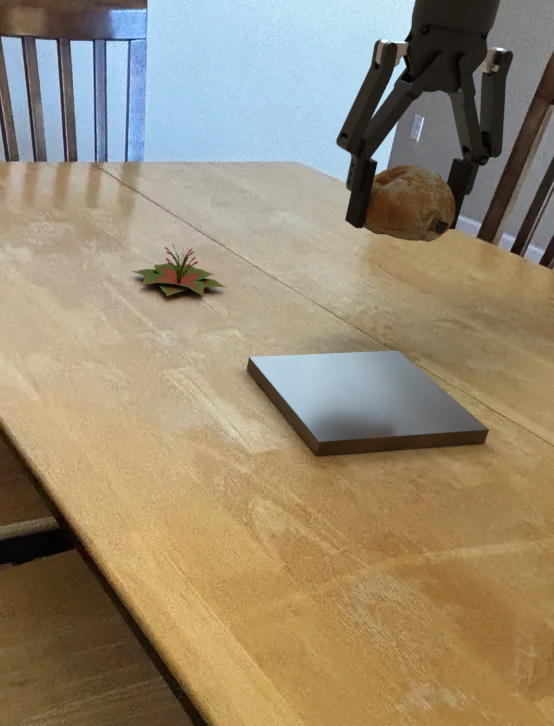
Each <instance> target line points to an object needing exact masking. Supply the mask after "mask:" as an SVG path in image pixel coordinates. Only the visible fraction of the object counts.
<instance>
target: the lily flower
mask: <svg viewBox="0 0 554 726" xmlns="http://www.w3.org/2000/svg"><path fill="white" fill-rule="evenodd" d="M172 247H173V249H174V251H175V255H176V256H175V255H174V254H173V253H172V251H171V250H170V249H169V248H168V247H167V246H164V249H165V250H166V254H168V255H170V256H171V257H172V259H173V261H174V262H175V264H174V263H173V262H172V261H171V260H170V259H169V258H167V257H165V260H166V261H167V263H161V264H154V265H153V267H154V269H153V268H152V269H151V268H144V269H139V270H131V272H132V273H135V274H138V275H139V276H143V277H144V279H143V282H142V283H140V286H144V285H145V286H146V285H151V284H156V283H157V284H159V287H160V289H161V290H162V291H163V292H164V293H165V294H166V297H169V296H172V295H175V294H177V293H180V292H184V291H187V290H188V288H189V289H190V290H192V291H193V292H195V293H197V294H199V295H200V296H202V297H204V296H205V295H204V294H205V293H204V292H205V290H204V289H205V288H226V286H225V285H223V284H221V283H219V281H217V280H215V279H211V278H208V277H211V276H216V274H215V273H212V272H209V271H206V270H204V269H201V268H196V267H195V265H197V264H198V263H199V261H198V260H196V261H194V260H195V259H196V256H194V257H192V258H191V260H190V261H189V262H188V260H189V257H190V256H192V255H193V254H194V253H195V251H194V250H193V248H190V249H189V250H188V252H187V253H186V254H185V255H184V252H182V255H181V256H182V258H181V260H180V256H179V254H178V253H177V250H176V247H175V245H174V244H172ZM182 251H185V248H183V249H182ZM193 261H194V262H193ZM187 262H188V263H187ZM192 262H193V263H192ZM191 263H192V264H191Z"/></svg>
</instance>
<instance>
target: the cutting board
mask: <svg viewBox="0 0 554 726" xmlns="http://www.w3.org/2000/svg"><path fill="white" fill-rule="evenodd" d="M247 360H248V361H247V365H246V370H247V372H248V373H249V374H250V375H251V377H252V378H253V380H255V381H256V383H257V384H258V385H259V387H260V388H261V389H262V390H263V391H264V393H265V394H266V395H267V397H268V398H269V399H270V400H271V401H272V403H273V405H275V407H276V408H277V409H278V411H279V412H281V414H282V415H283V416H284V417H285V419H286V420H287V421H288V423H289V424H290V425H291V426H292V428H293V429H294V430H295V431H296V432H297V434H298V435H299V436H300V438H301V439H302V441H304V442H305V444H306V445H307V446H308V447H309V449H310V450H311V451H312V453H313V454H314V455H315V456H317V457H319V456H320V457H321V456H334V455H344V454H359V453H372V452H373V453H374V452H384V451H385V452H386V451H396V450H399V451H400V450H409V449H422V448H435V447H437V448H438V447H449V446H462V445H475V444H476V445H477V444H485V443H486V440H487V437H488V436H489V435H488V434H489V433H490V429H489V428H488V427H487V426H486V425H485V424H484V423H482V421H480V420H479V419H478V418H477V417H475V416H474V415H473V414H472V413H471V412H470V411H468V409H466V408H465V407H464V406H463V405H462V404H461V403H459V402H458V401H457V400H456V399H455V398H453V396H452V395H450V394H449V393H448V392H447V391H446V390H444V389H443V388H442V387H441V386H440V385H439V384H438V383H436V382H435V381H434V380H433V379H432V378H431V377H430V376H428V375H427V374H426V373H425V372H424V371H423V370H421V368H419V367H418V366H417V365H416V364H415V363H414V362H413V361H411V360H410V359H409V358H408V357H407V356H406V355H404V354H403V353H402V352H401V351H399V350H397V349H396V350H377V351H376V350H375V351H373V350H372V351H353V352H350V351H349V352H330V353H329V352H327V353H308V354H285V355H284V354H283V355H282V354H281V355H263V356H261V355H260V356H259V355H258V356H248V359H247Z"/></svg>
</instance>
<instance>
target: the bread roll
mask: <svg viewBox="0 0 554 726" xmlns="http://www.w3.org/2000/svg"><path fill="white" fill-rule="evenodd" d="M454 217H455V200H454V197H453V194H452V191H451V189H450V187H449V186H448V184H447V181H445V180H443V178H442V175H441V174H440V173H439V172H437V171H430V169H427V168H425V167H423V166H419V165H415V164H401V165H396V166H393V167H390V168H387V169H384V170H382V171H380V172H379V173H377V174H376V173H375V176H374V181H373V185H372V189H371V194H370V198H369V202H368V207H367V211H366V215H365V220H364V224H363V228H364V229H366V230H367V231H369V232H371V233H373V234H375V235H384V236H389V237H392V238H394V239H399V240H404V241H409V242H410V241H412V242H419V241H422V242H426V243H429V242H432V241H436V240H437V239H439V238H441V237H442V236H443V235H444V234H445V233H447V232H448V231H449V230H451V229H450V227H451V225H452V222H453V220H454Z"/></svg>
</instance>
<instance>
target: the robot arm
mask: <svg viewBox="0 0 554 726" xmlns="http://www.w3.org/2000/svg"><path fill="white" fill-rule="evenodd" d="M500 3H501V0H414V5H413V9H412V13H411V24H410V25H411V26H410V30H409V32H408V34H407V36H406V37H405V39H404V40H403V41H391V40H388V39H384V38H378V39H377V40H376V41H375V43H374V45H373V50H372V57H371V63H370V66H369V69H368V71H367V72H366V75H365V77H364V80H363V82H362V84H361V86H360V88H359V90H358V92H357V95H356V96H355V99H354V101H353V103H352V105H351V107H350V109H349V111H348V113H347V116H346V118H345V120H344V121H343V124H342V127H341V129H340V131H339V133H338V135H337V137H336V139H335V140H336V141H335V143H336V146H337V147H339V148H340V149H342V150H344V151H346V152H347V153H349V154H350V162H349V167H348V172H347V177H346V181H345V187H346V189H347V191H349V192H350V195H349V200H348V205H347V208H346V214H345V218H344V221H345V222H347V223H348V224H349V225H351V226H352V227H353V228H354V229H363V228H364V227H363V224H364V220H365V215H366V211H367V207H368V202H369V198H370V194H371V189H372V185H373V181H374V176H375V175H376V172H377V167H378V163H379V162H378V161H377V160H375V159H373V158H372V157H373V156H374V154H375V153H376V151H377V150H378V149H379V147H380V146H381V145H382V143H383V142H384V141H385V140H386V138H387V137H388V135H389V134H390V133H391V131H392V130H393V129H394V127H395V126H396V125H397V124H398V122H399V121H400V119H402V117H403V116H404V114H405V112H406V111H407V110H408V109H409V107H410V106H411V104H413V102H414V101H415V100H418V99H419V98H420V97H421V95H422V94H423V93H424V92H425V93H436V92H438V91H439V92H442V93H445V94H447V96H448V97H449V99H450V103H451V109H452V112H453V113H452V114H453V119H454V122H455V129H456V132H457V138H458V143H459V147H460V152H461V156H462V158H459V157H458V158H457V157H456V158H455V157H454V158H453V159H452V161H451V162H452V163H451V166H450V170H449V174H448V177H447V181H446V183H447V184H448V186H449V187H450V189H451V191H452V194H453V197H454V200H455V217H454V220H453V222H452V225H451V227H450V229H449V230H456V227H457V223H458V220H459V218H460V217H459V216H460V214H461V210H462V207H463V203H464V199H465V196H470V194H471V193H472V191H473V189H474V185H475V181H476V178H477V176H478V173H479V168H480V167H484V166H486V165H487V164H488V162H489V160H490V159H491V158H494V159H497V158H499V157H500V156H501V155H502V153H503V141H504V125H505V124H504V123H505V107H506V88H507V77H508V74H509V71H510V68H511V65H512V62H513V59H514V53H513V51H512V50H508V49H506V48H502V47H500V46H499V47H498V46H493V47H488V36H489V34H490V32H491V30H492V29H493V27H494V25H495V22H496V18H497V14H498V11H499V7H500ZM402 58H403V61H404V65H405V68H404V69H403V71H402V72H401V74H400V75H399V76H398V77H397V79H396V80H395V81H394V83H393V88H392V90H391V91H390V92H389V94H388V95H387V97H386V98H385V99H384V101H383V102H382V103H381V105H380V106H379V104H380V102H381V99H382V97H383V95H384V93H385V91H386V89H387V86H388V85H389V83H390V80H391V78H392V76H393V73H394V70H395V68H396V67H397V66H399V65H400V64H401V59H402ZM479 67H480V68H481V71H482V74H481V80H480V103H479V105H480V107H479V116H478V110H477V105H476V99H475V97H476V95H477V92H476V91H477V90H476V87H475V80H474V73H475V72H476V70H477V69H478V68H479ZM378 106H379V108H378ZM377 108H378V109H377Z"/></svg>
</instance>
